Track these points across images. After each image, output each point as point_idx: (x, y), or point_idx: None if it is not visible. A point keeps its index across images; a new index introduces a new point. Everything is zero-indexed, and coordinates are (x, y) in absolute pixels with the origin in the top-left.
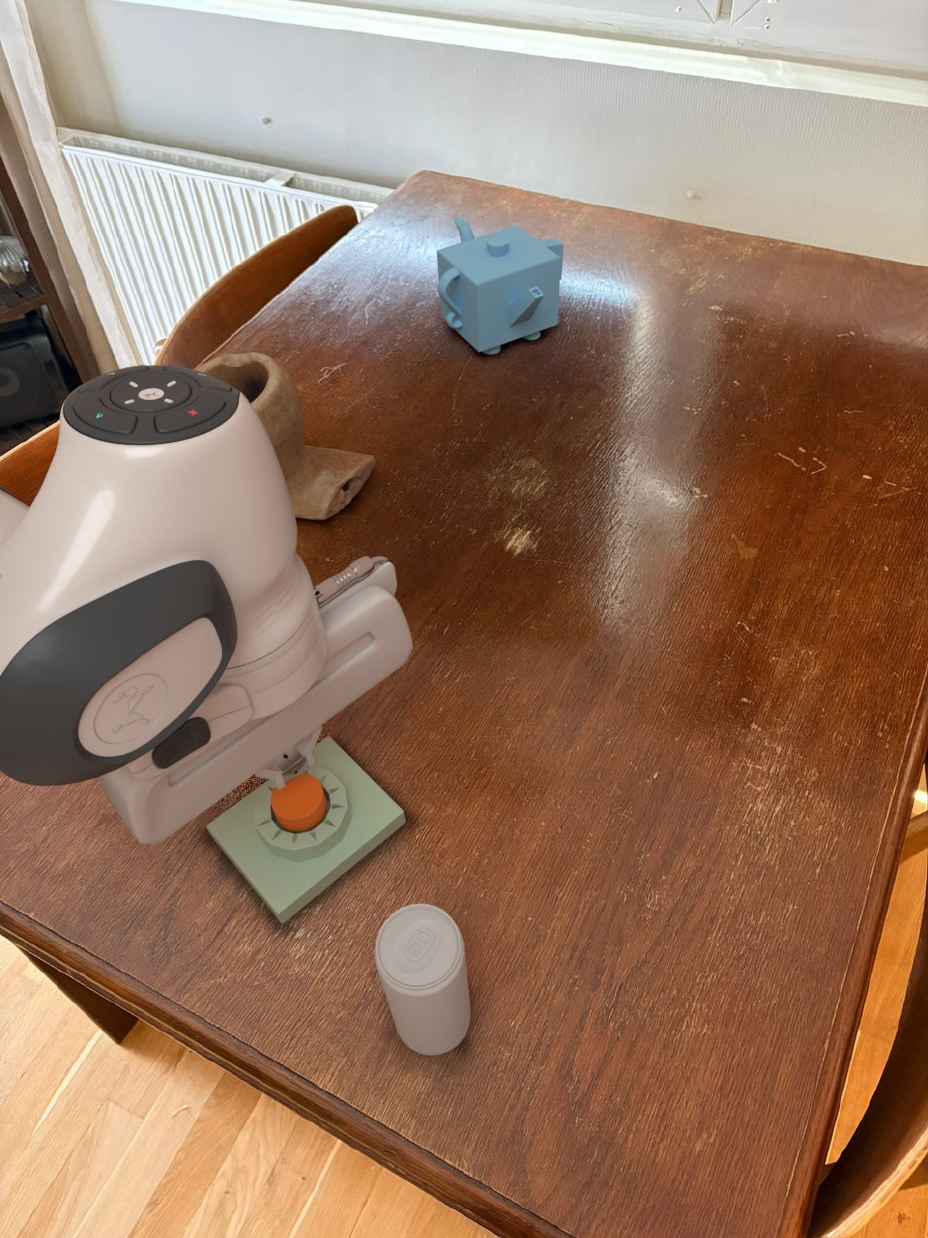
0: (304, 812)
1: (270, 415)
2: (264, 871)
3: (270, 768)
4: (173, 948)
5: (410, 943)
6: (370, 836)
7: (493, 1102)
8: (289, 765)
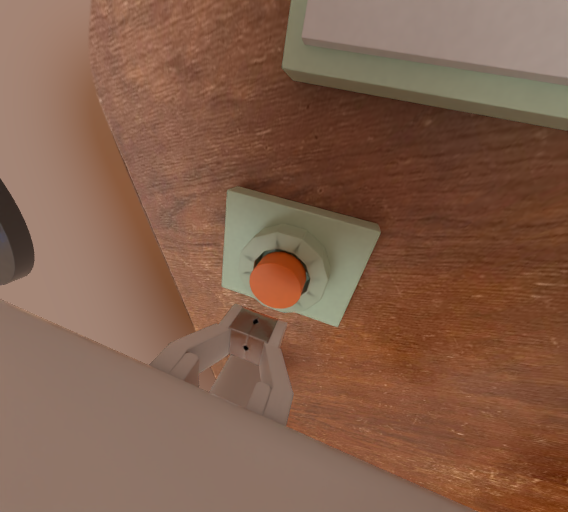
0: (266, 301)
1: None
2: (234, 262)
3: (201, 370)
4: (173, 224)
5: None
6: (304, 315)
7: None
8: (240, 356)
